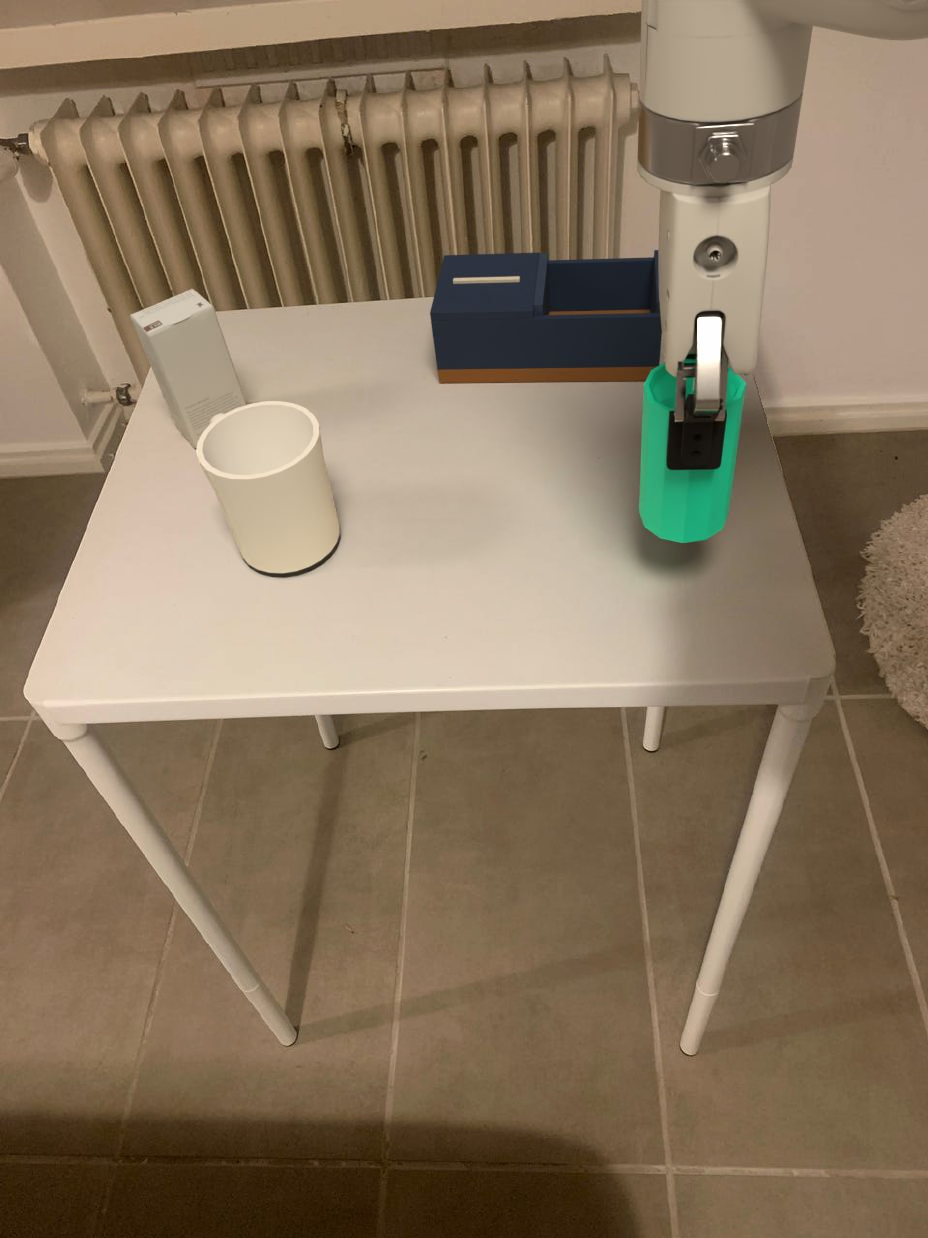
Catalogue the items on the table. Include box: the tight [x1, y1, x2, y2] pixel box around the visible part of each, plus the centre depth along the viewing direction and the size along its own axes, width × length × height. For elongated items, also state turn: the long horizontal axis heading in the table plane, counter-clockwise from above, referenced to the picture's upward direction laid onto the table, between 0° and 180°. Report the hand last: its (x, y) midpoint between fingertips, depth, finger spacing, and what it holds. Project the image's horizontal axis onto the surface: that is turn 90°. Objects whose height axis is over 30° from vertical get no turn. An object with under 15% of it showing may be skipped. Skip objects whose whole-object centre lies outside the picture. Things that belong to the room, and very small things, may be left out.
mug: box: [195, 400, 341, 578], centre depth 70 cm, size 11×9×10 cm
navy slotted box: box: [429, 249, 663, 384], centre depth 85 cm, size 20×10×8 cm, turn 84°
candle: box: [638, 359, 747, 544], centre depth 59 cm, size 6×6×12 cm
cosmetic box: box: [129, 288, 248, 449], centre depth 80 cm, size 6×4×12 cm
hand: (690, 429), depth 58 cm, fingers closed on candle, 6 cm apart
